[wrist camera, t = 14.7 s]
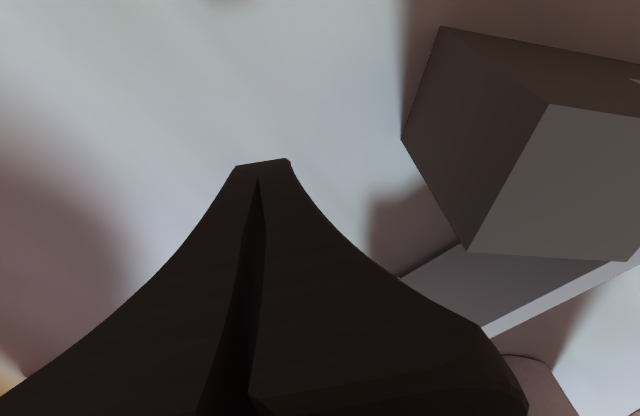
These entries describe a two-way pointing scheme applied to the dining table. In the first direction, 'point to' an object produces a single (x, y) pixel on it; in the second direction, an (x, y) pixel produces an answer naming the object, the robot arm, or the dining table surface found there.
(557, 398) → the pillar candle
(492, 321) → the door
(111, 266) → the dining table surface
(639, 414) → the candlestick
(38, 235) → the dining table surface
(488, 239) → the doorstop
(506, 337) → the dining table surface
